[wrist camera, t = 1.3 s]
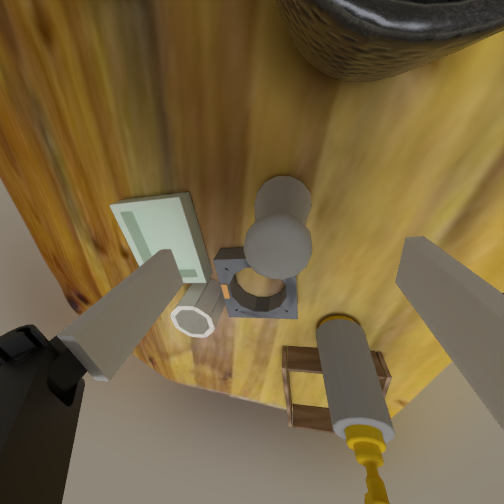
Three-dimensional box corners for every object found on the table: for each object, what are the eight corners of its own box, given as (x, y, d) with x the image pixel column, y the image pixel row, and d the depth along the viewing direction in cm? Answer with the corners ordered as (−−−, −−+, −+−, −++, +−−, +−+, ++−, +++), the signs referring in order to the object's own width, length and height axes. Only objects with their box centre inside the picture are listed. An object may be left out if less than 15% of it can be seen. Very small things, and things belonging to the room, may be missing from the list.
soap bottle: (310, 338, 33) (326, 508, 18) (320, 308, 30) (350, 488, 15) (353, 346, 33) (408, 531, 17) (368, 316, 29) (454, 515, 14)
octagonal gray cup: (185, 278, 32) (165, 305, 26) (221, 277, 30) (207, 306, 25) (196, 306, 34) (179, 336, 29) (229, 307, 33) (217, 338, 28)
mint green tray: (124, 199, 26) (109, 204, 24) (189, 191, 24) (179, 196, 22) (157, 273, 32) (147, 283, 30) (212, 272, 30) (206, 282, 28)
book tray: (282, 345, 36) (281, 368, 32) (381, 352, 32) (391, 377, 29) (289, 404, 45) (289, 426, 42) (365, 414, 42) (371, 438, 39)
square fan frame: (220, 248, 28) (212, 260, 25) (294, 245, 25) (294, 257, 23) (234, 302, 32) (228, 317, 30) (297, 303, 30) (297, 320, 27)
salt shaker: (270, 229, 25) (253, 303, 14) (249, 187, 23) (209, 234, 12) (317, 210, 23) (340, 280, 12) (298, 161, 21) (306, 190, 10)
